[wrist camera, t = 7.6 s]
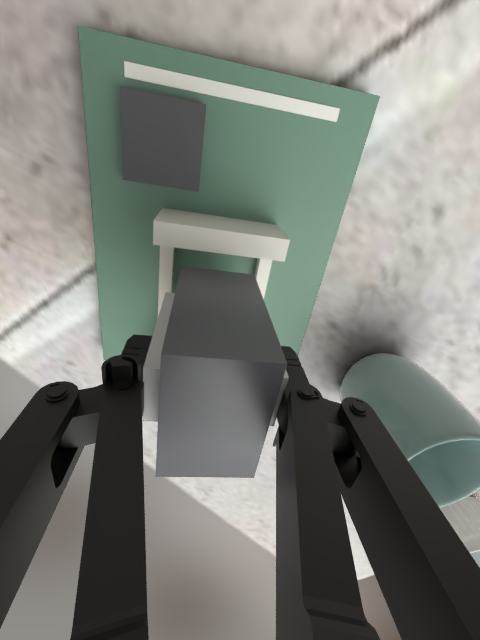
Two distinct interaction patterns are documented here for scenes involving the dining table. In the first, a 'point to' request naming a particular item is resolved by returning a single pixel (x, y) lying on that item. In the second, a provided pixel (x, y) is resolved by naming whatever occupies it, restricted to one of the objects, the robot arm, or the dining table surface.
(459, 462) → the cup
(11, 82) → the dining table surface
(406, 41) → the dining table surface
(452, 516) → the ramekin
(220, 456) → the plug
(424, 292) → the dining table surface
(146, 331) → the board
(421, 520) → the robot arm
